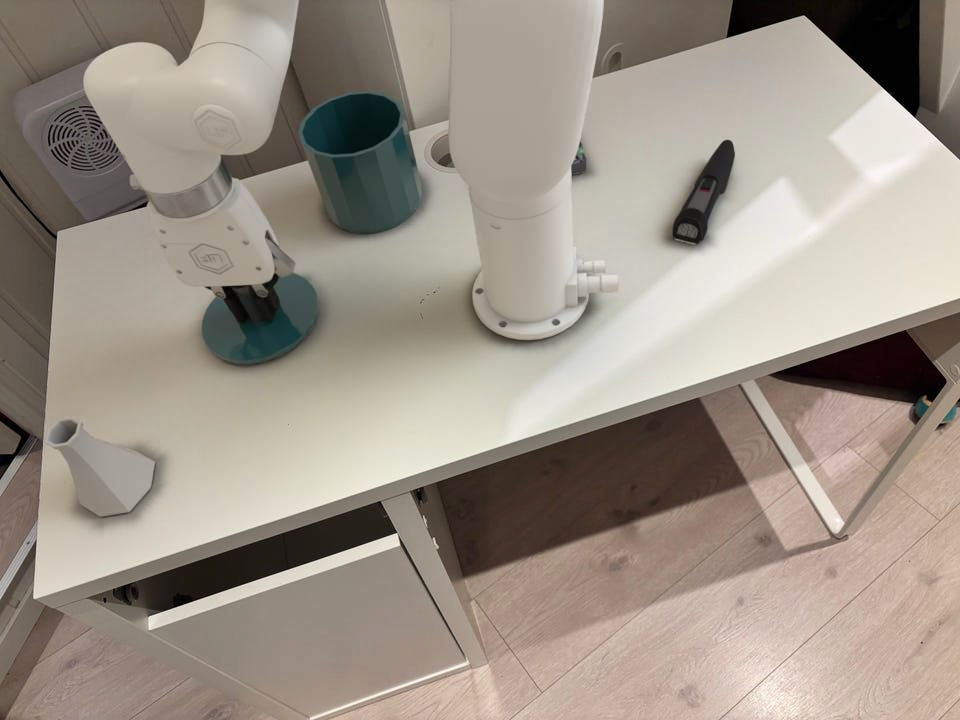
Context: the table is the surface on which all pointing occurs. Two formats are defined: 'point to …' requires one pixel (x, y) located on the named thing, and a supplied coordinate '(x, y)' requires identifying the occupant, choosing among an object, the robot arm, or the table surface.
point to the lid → (261, 323)
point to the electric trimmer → (704, 196)
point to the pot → (362, 161)
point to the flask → (101, 468)
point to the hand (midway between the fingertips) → (258, 311)
